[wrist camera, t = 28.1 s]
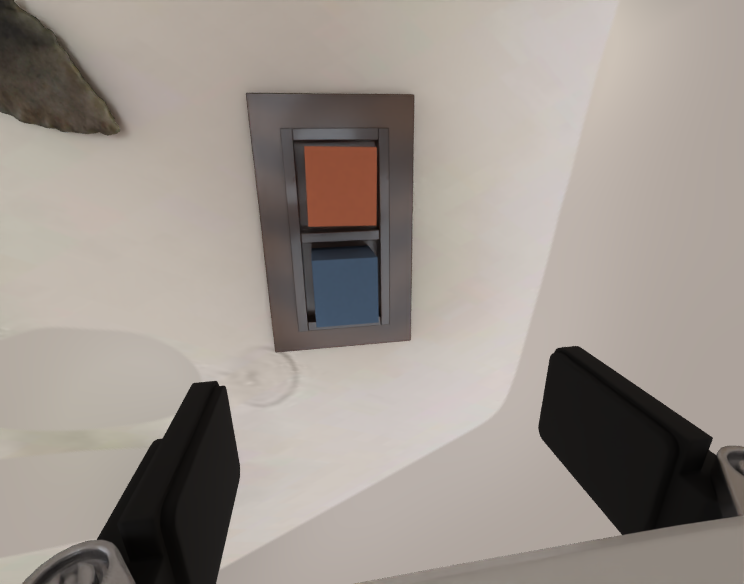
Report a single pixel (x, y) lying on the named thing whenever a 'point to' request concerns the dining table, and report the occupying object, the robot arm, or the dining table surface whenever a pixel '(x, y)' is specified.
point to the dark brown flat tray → (296, 239)
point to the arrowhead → (45, 79)
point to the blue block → (345, 285)
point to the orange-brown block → (341, 185)
